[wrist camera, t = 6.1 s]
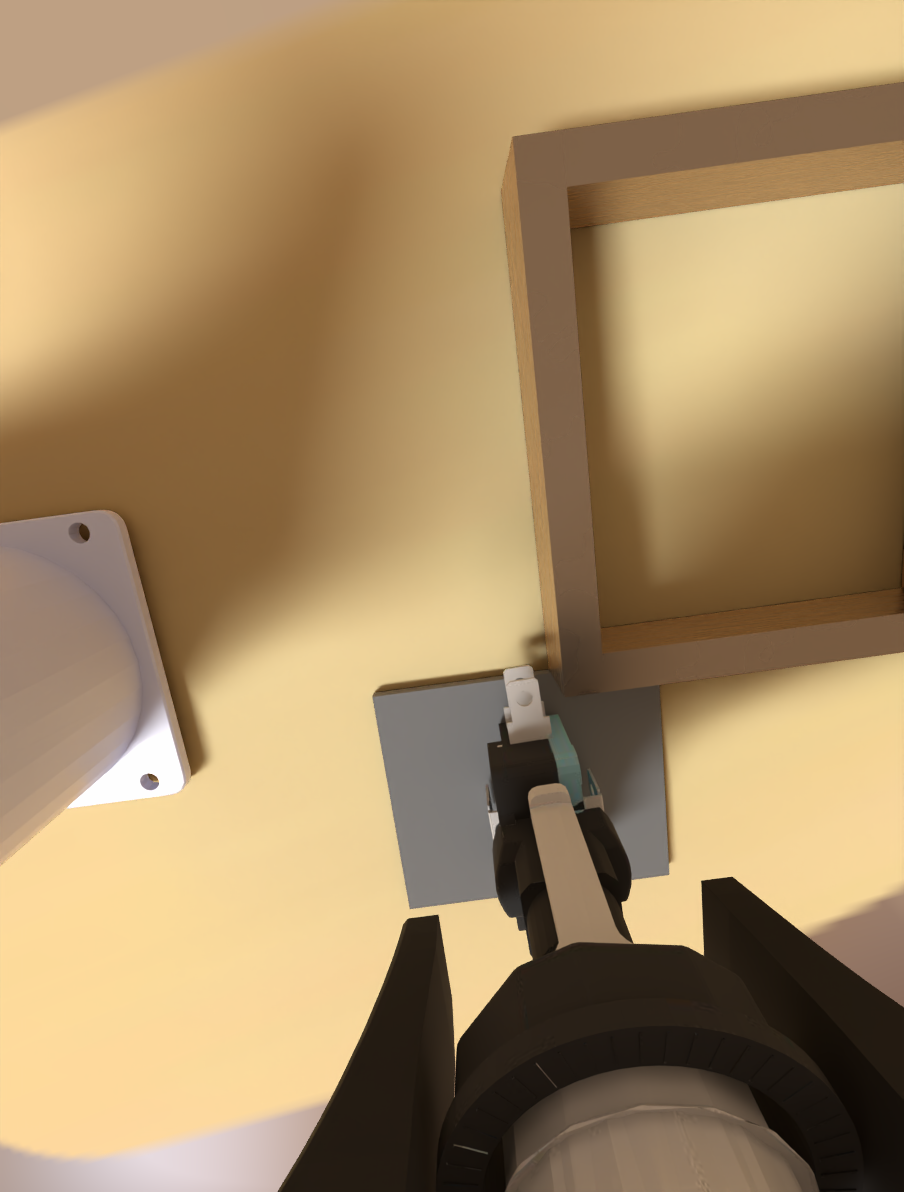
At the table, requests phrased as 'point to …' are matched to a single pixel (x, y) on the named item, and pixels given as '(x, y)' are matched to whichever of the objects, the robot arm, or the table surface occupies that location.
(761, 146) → the frame
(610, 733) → the mat
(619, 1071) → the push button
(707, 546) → the table surface
